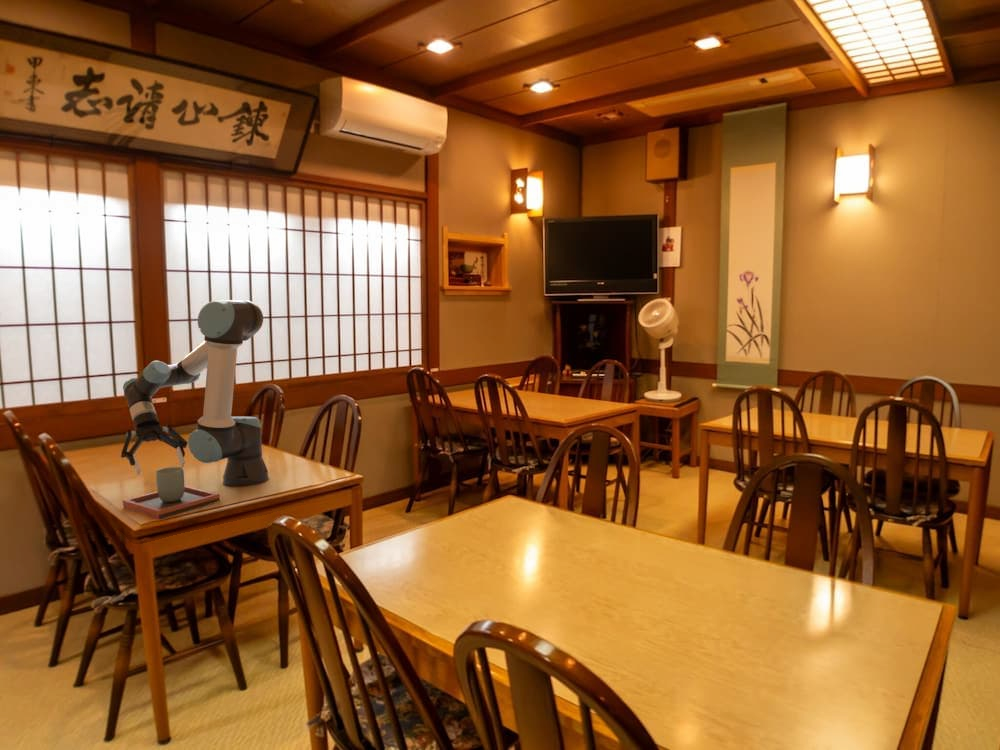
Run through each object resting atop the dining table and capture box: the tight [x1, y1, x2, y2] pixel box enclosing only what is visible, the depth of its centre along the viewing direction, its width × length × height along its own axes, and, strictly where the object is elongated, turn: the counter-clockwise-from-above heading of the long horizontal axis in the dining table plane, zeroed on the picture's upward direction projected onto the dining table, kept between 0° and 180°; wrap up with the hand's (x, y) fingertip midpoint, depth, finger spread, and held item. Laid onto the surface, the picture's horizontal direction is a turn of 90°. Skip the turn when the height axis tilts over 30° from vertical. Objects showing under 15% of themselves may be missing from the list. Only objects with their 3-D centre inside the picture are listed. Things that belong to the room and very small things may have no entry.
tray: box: [122, 484, 221, 520], centre depth 210 cm, size 20×20×2 cm
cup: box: [155, 466, 186, 503], centre depth 209 cm, size 8×8×10 cm
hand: (161, 468), depth 219 cm, fingers open, 13 cm apart
